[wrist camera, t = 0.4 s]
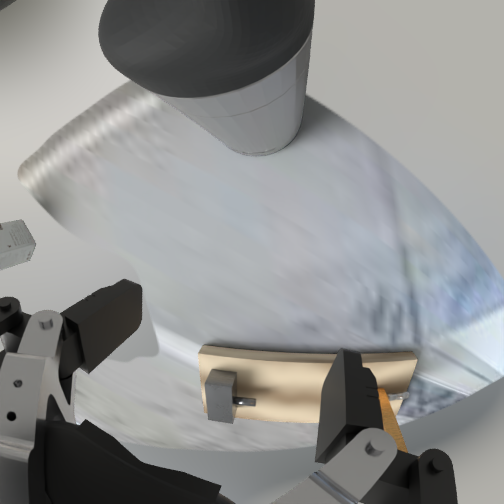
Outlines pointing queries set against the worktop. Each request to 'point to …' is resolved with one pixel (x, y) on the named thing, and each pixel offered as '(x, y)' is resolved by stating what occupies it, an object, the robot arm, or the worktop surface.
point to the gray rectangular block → (223, 396)
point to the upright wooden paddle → (392, 416)
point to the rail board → (295, 379)
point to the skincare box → (15, 244)
